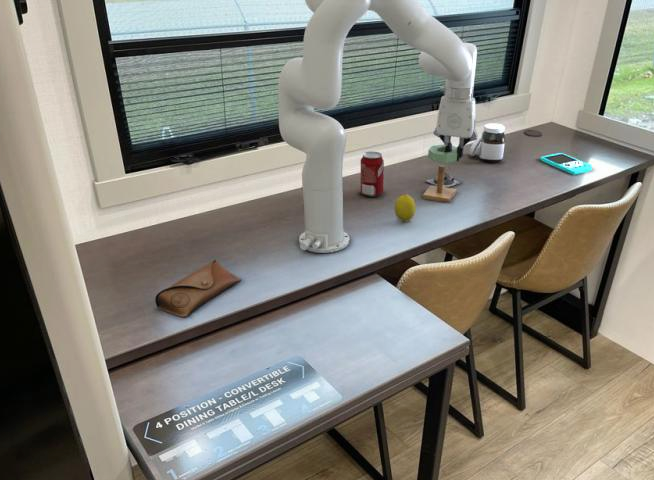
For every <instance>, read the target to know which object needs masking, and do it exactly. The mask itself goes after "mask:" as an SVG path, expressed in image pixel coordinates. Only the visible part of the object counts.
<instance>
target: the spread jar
mask: <svg viewBox="0 0 654 480" xmlns="http://www.w3.org/2000/svg"><path fill="white" fill-rule="evenodd" d="M505 129H506V126H505V125H503V124H502V123H496V122H495V123H494V122H493V123H492V122H491V123H485V124H484V125H483V131H482V133H481V136H478V138H477V139H476V140H474V141H473V143H472V144H471V146H470V149H469V150H468V155H469V156H470V157H474V156H475V154H476V153H477V151H478V150H479V160H480V161H481V162H482V163H485V164H499V163H501V162H502V161H503V159H504V150H505V143H506V135H505Z"/></svg>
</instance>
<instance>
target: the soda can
mask: <svg viewBox="0 0 654 480" xmlns="http://www.w3.org/2000/svg"><path fill="white" fill-rule="evenodd" d="M384 177H385V160H384V158H383V154H382V153H381V152H378V151H366V152H365V151H364V152H363V153H362V157H361V158H360V193H361V194H362V195H364V196H365V197H368V198H376V197H379V196H381V195H383V194H384V182H385V181H384V179H385V178H384Z"/></svg>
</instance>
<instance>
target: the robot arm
mask: <svg viewBox="0 0 654 480" xmlns="http://www.w3.org/2000/svg"><path fill="white" fill-rule="evenodd" d="M304 1H305V4H306V6H307V8H308V9H309V10H310V11H311V12H312V13H313V14H312V15H311V17H310V19H309V20H308V22H307V24H306V27H305V29H304V35H303V44H302V45H303V47H302V57H294V58H291V59H290V60H288V61H287V62H285V64H284V65H283V67H282V69H281V71H280V73H279V76H278V84H277V85H278V88H277V94H278V95H277V97H278V98H277V99H278V100H277V101H278V102H277V104H278V128H279V133H280V136H281V139H282V140H283V141H284V142H285V143H286V144H287V145H288V146H290V147H292V148H293V149H296V150H298V151H301V152H303V153H304V154H305V155H306V157H305V161H304V164H303V167H302V171H301V184H302V185H301V186H302V203H303V221H304V222H303V223H304V232H302V233H300V235H299V238H298V242H299V248H300V249H301V250H302V251H308V252H311V253H317V254H329V253H335V252H339V251H341V250H344V249H345V248H346V247H348V246H349V244H350V235H349V234H348V233H347V231H344V195H343V191H344V189H343V187H344V186H343V163H344V157H345V151H346V145H347V134H346V130H345V128H344V127H343V125H342V124H341V123H340V122H339V121H338V120H337V119H335V118H334V117H331V116H329V115H327V114H324V113H321V112H318V111H315V109H318V110H325V111H327V110H332V109H333V108H335V107H337V105H338V104H339V103H340V100H341V96H342V84H343V83H342V82H343V57H344V46H345V42H346V38H347V36H348V34H349V32H350V31H351V29H352V27H354V25H355V24H357V22H358V21H359V20H361V19H362V18H363V16H365V15H366V13H367V11H372V12H374V13H376V14H377V16H379V18H380V19H381V20H382V21H383V22H384V23H385V25H386V26H387V27H388V28H389V29H390V30H391V32H392V33H393V34H394V35H395V36H396V37H397V38H398V39H399V41H401V42H403V43H404V44H406V45H408V46H409V47H411V48H413V49H415V50H418V51H420V54H419V57H418V65H419V67H420V69H421V71H423V72H424V73H425V74H427V75H429V76H433V77H436V78H441V79H445V85H444V86H442V85H441V86H440V87H439V92H440V93H441V92H442V93H443V96H441V98H440V102H439V107H438V111H437V112H438V113H437V114H438V115H437V120H436V127H435V129H434V131H433V132H432V133H433V135H434V136H435V137H437V138H439V139H440V140H441V141H442V143H443V145H445V152H451V150H452V146H453V143H452V137H453V138H459V139H458V140H459V141H458V146H457V147H456V148H457V162H460V160H461V159H462V158H463V157H464V147H465V146H466V145H467V144H468V143H470V142H474V141H475V140H476V139H477V138H478V137H479V136H478V133H477V129H476V117H477V116H476V115H477V113H476V111H477V110H476V108H477V107H476V98H475V97H474V88H475V78H476V67H477V56H478V47H477V45H475V44H474V43H470V42H463V41H462V39H461V38H460V37H459V36H458V35H457V34H456V33H455V32H454V31H452V29H451V28H449V27H447V26H446V25H445V24H443V23H442V22H440V21H439V20H438V19H437V18H435V17H434V16H432V15H431V14H430V13H428V12H427V11H426V10H425V9H424V8H423V6H422V5H421V4H420V3H419V1H418V0H304Z"/></svg>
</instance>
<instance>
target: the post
mask: <svg viewBox="0 0 654 480" xmlns="http://www.w3.org/2000/svg"><path fill="white" fill-rule="evenodd" d="M437 169H438V170H437V171H438V172H437V174H438V181H437V186H435V185H433V184H430V185H429V187H428V188H427V189H426V190H425V191H424V193H423V194H422V199H424V200H431V201H437V202H443V203H450V202H451V200H452V199H453V198H454V196H456V195H455V194H456V193H457V189H456V188H452V187H446V188H445V187H443V183H444V173H445V170H446V165H444V164H439V165H438V167H437Z"/></svg>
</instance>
